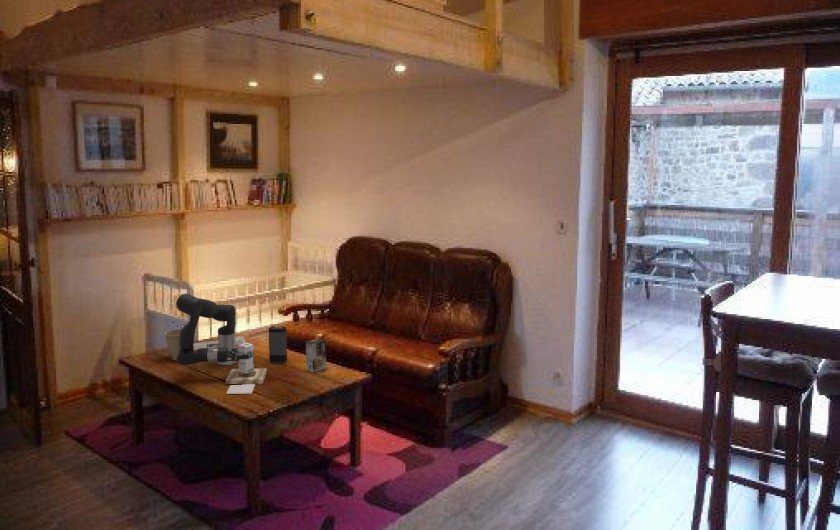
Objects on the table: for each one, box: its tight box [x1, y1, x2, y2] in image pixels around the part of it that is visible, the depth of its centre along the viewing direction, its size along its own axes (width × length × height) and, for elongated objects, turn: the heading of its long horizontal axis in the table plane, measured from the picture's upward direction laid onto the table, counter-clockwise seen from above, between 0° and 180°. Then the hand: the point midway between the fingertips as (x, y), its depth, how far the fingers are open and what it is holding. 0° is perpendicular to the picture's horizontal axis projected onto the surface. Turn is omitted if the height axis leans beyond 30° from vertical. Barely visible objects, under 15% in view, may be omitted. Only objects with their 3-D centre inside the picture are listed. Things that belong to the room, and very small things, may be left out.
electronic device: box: [268, 325, 288, 364], centre depth 373 cm, size 9×6×20 cm, turn 84°
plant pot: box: [164, 328, 182, 362], centre depth 377 cm, size 15×15×16 cm
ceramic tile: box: [225, 384, 256, 395], centre depth 328 cm, size 12×12×1 cm
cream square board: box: [225, 367, 268, 385], centre depth 346 cm, size 18×18×2 cm
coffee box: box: [305, 338, 327, 373], centre depth 361 cm, size 9×6×16 cm
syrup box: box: [237, 342, 256, 374], centre depth 344 cm, size 6×6×14 cm
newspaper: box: [193, 335, 246, 352], centre depth 406 cm, size 35×12×4 cm, turn 118°
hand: (250, 354), depth 344 cm, fingers closed on syrup box, 7 cm apart
